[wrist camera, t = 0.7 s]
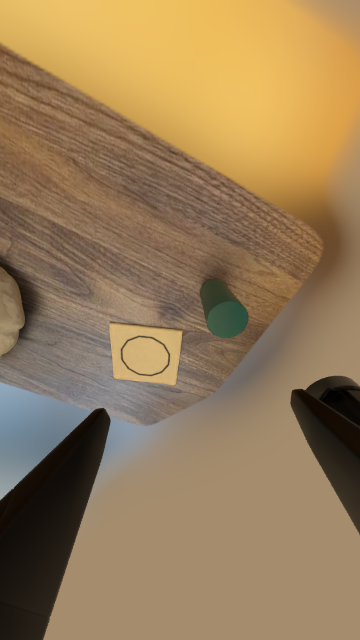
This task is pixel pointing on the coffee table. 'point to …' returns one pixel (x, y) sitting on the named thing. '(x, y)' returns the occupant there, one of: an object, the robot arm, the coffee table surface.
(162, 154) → the coffee table surface
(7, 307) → the decorative stone
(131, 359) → the sketch card
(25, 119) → the coffee table surface
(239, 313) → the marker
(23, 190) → the coffee table surface
